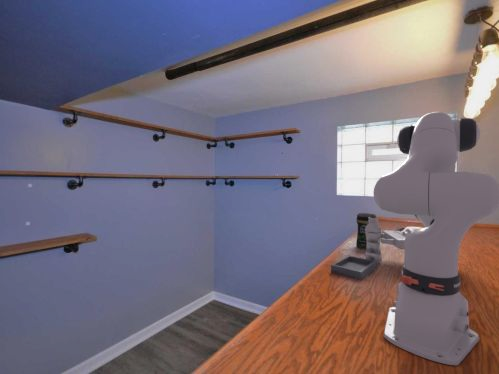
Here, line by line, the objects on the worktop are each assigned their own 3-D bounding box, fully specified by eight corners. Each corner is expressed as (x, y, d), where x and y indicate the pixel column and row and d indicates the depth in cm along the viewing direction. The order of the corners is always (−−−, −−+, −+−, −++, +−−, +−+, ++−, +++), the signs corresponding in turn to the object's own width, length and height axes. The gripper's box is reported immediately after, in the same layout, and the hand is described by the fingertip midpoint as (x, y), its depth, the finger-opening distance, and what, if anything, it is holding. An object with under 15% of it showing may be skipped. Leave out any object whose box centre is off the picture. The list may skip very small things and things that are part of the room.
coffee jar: (354, 248, 136) (354, 213, 135) (358, 244, 142) (358, 211, 141) (374, 251, 130) (374, 214, 129) (377, 247, 136) (377, 213, 135)
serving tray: (361, 280, 94) (361, 272, 94) (331, 272, 102) (330, 264, 102) (377, 268, 106) (377, 260, 106) (348, 261, 114) (348, 255, 114)
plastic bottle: (384, 265, 109) (384, 219, 108) (367, 264, 110) (366, 218, 109) (379, 260, 115) (379, 216, 114) (363, 259, 116) (363, 216, 116)
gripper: (402, 227, 119) (371, 226, 122) (423, 237, 99) (385, 236, 102) (402, 240, 119) (371, 239, 122) (423, 253, 99) (385, 252, 102)
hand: (377, 238), depth 112 cm, fingers open, 8 cm apart
